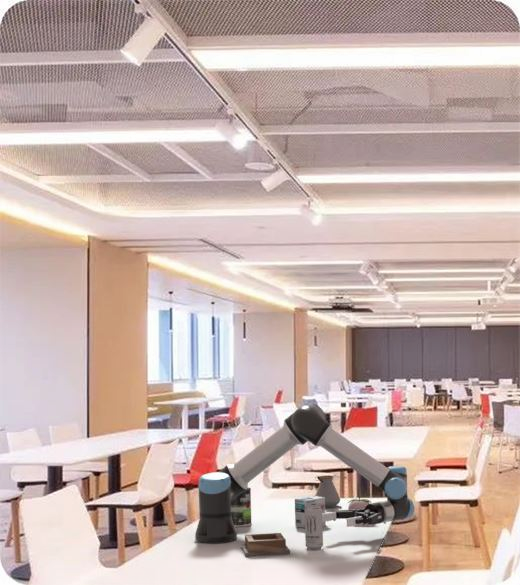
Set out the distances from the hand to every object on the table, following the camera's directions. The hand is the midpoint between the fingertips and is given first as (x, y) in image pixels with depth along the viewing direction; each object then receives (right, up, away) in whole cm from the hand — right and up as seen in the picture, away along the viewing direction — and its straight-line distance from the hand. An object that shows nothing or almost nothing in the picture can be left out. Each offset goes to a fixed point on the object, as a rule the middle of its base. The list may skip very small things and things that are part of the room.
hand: (334, 520), depth 346 cm
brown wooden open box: (-24, -9, -8) cm, 27 cm away
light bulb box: (-6, -11, +37) cm, 39 cm away
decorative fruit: (+13, -11, +42) cm, 45 cm away
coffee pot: (+2, -13, +77) cm, 79 cm away
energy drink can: (-7, -9, -6) cm, 13 cm away
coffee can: (-34, -12, +44) cm, 57 cm away
